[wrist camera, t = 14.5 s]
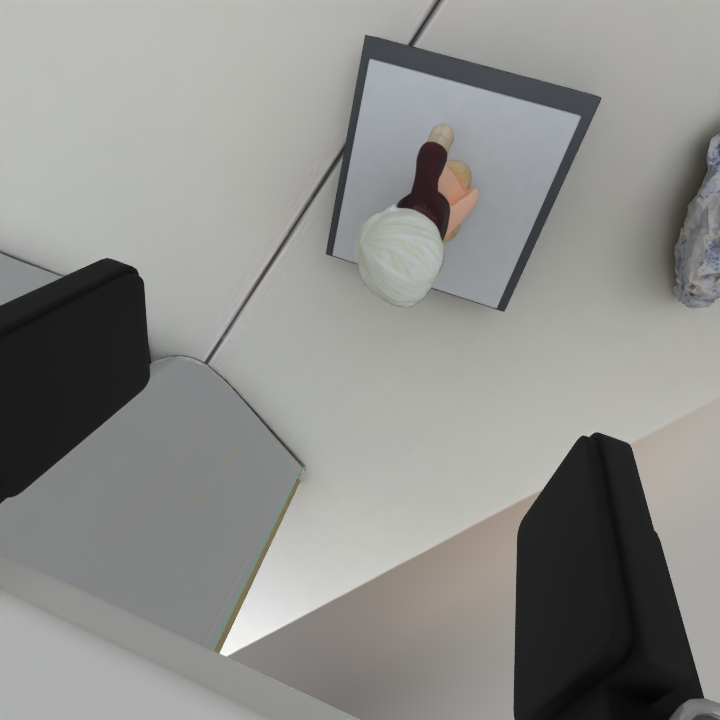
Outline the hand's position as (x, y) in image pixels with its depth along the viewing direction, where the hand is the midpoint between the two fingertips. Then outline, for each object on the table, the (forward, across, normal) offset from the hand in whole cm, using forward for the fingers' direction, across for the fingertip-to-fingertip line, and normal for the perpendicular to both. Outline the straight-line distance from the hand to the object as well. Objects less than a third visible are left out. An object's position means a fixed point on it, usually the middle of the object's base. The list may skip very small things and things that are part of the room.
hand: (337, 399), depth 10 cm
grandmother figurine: (+20, +1, 0) cm, 20 cm away
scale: (+23, +1, 0) cm, 23 cm away
